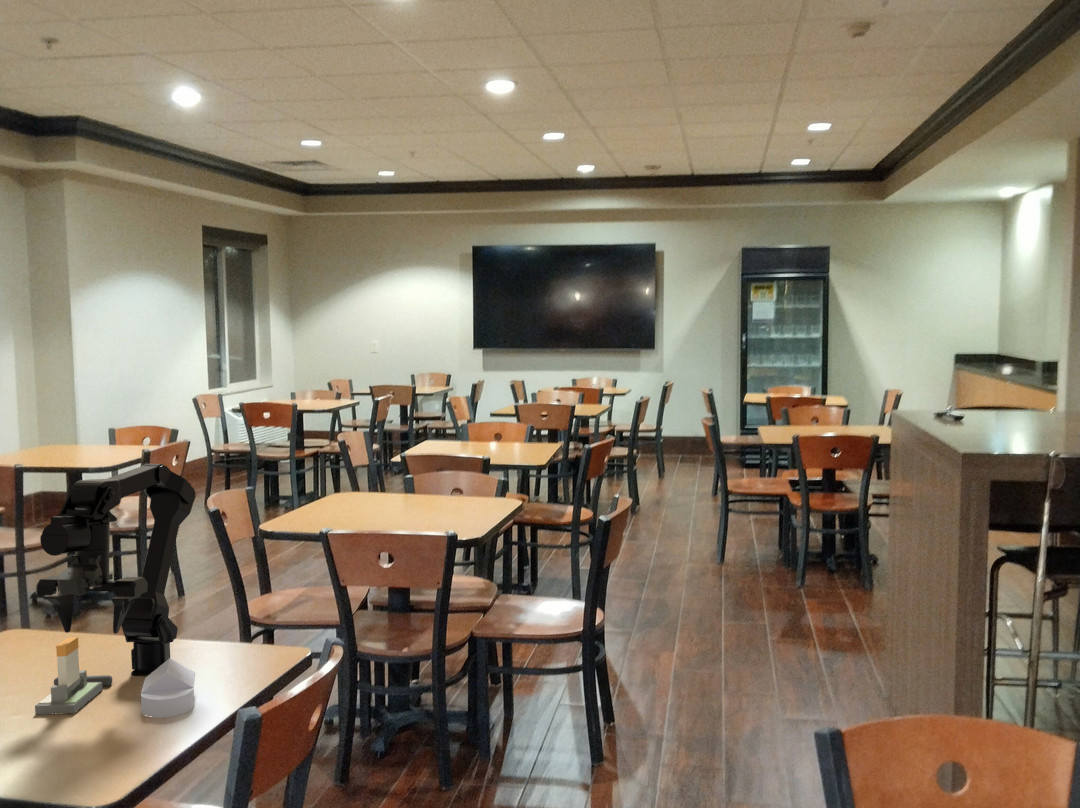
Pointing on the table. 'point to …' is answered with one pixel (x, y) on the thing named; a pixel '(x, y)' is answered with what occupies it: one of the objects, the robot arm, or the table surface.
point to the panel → (69, 697)
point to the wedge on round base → (168, 690)
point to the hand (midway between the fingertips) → (91, 632)
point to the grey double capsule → (95, 679)
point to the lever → (68, 663)
